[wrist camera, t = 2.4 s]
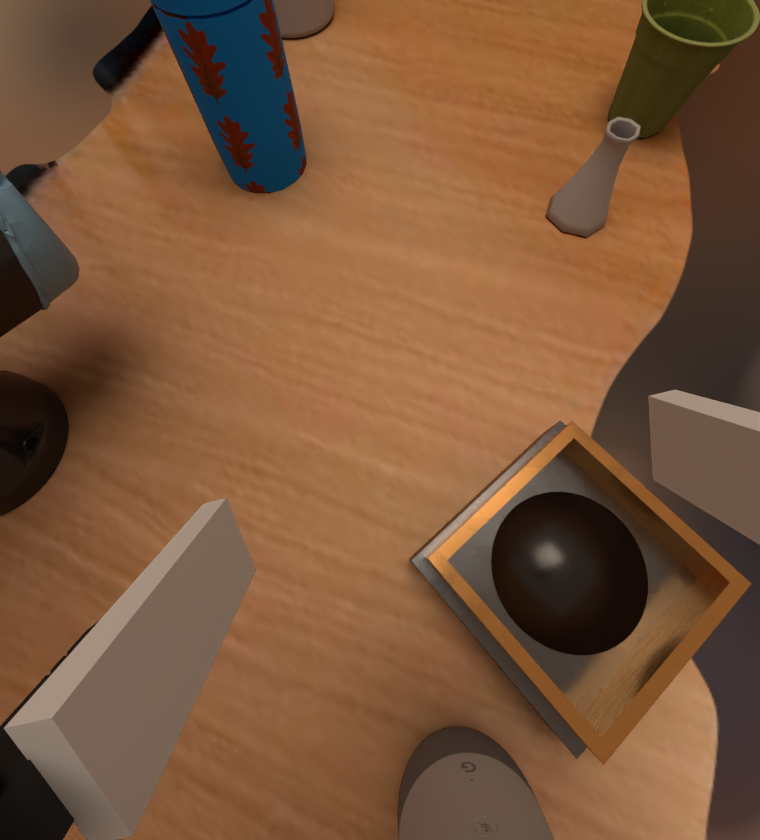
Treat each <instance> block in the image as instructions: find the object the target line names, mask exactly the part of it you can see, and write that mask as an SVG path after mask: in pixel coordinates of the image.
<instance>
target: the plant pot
mask: <svg viewBox="0 0 760 840" xmlns="http://www.w3.org/2000/svg"><path fill="white" fill-rule="evenodd" d="M759 19H760V14H759V10H758V8H757V7H756V5H755V2H754V1H753V0H642V15H641V18H640V21H639V24H638V27H637V30H636V38H635V41H634V43H633V46H632V49H631V52H630V54H629V57H628V60H627V63H626V66H625V68H624V71H623V74H622V77H621V80H620V82H619V85H618V88H617V91H616V93H615V96H614V99H613V102H612V105H611V107H610V110H609V114H608V117H609V121H611V120H613V119H615V118H616V117H623V118H628V119H632V120H633V121H634V122H636V123H637V124H638V125H640V126H641V128H640V133H639V136H638V138H646V137H649V136H651V135H653V134H655V133H658V132H659V131H660V130H661V129H662V128H663V127H664V126H665V125H666V124H667V122H668V121H669V120H670V119H671V118H672V117H673V116H674V114H675V113H676V112H677V111H678V110H679V109H680V107H681V106H682V105H683V104H684V103H685V102H686V100H687V99H688V98H689V97H690V96H691V95H692V93H693V92H694V91H695V90H696V89H697V87H698V86H699V85H700V84H701V83H702V82H703V81H704V79H705V78H706V77H707V76H708V75H709V74H710V72H711V71H712V70H713V69H714V68H715V67H716V66H717V65H718V64H719V63H720V62H722V61H723V60H724V59H725V58H726V57H727V56H728V54H729V53H730V52H731V51H732V50H733V49H734V48H735V46H736V45H737V44H738V43H740V42H742V41H744V40H745V39H747V38H748V37H749V36H751V35H752V33H753V32H754V31H755V30H756V28H757V26H758V24H759Z"/></svg>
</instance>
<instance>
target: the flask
mask: <svg viewBox="0 0 760 840" xmlns="http://www.w3.org/2000/svg"><path fill="white" fill-rule="evenodd" d="M640 128H641V126H640V125H638V124H637V123H636V122H634V121H633V120H632V119H628V118H623V117H616V118H615V119H613V120H611V121H609V122H608V124H607V127H606V131H605V135H604V138H603V140H602V142H601V143H600V145H599V146H598V148H597V149H596V150H595V152H594V153H593V155H592V156H591V157H590V159H589V160H588V161H587V162H586V163H585V164H584V165H583V166H582V167H581V168H580V169H579V170H578V172H577V173H576V174H575V175H574V176H573V177H572V178H571V179H570V180H569V181H568V182H567V183H566V184H565V185H564V186H563V187H562V188H561V189H560V190H559V191H558V192H557V193H556V194H555V195H554V196H553V197H552V198H551V199H550V203H549V207H548V210H547V214H546V217H548V218H549V219H550V220H551V221H552V222H553V223H554V224H555V225H556V226H557V227H558V228H559V229H560V230H561V231H563V232H568V233H572V234H576V235H580V236H584V237H587V236H589V235H591V234H592V233H594V232H595V231H597V230H599V229H600V228H602V227H603V226H605V222H606V218H607V213H608V208H609V204H610V199H611V194H612V190H613V186H614V182H615V178H616V174H617V171H618V169H619V166H620V164H621V161H622V159H623V156H624V154H625V152H626V151H627V149H628V147H629V146H630V144H631V143H632V142H633V141H635V140H636V139H637V138H638V136H639V133H640Z"/></svg>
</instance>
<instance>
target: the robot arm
mask: <svg viewBox="0 0 760 840" xmlns="http://www.w3.org/2000/svg"><path fill="white" fill-rule="evenodd" d="M78 276H79V266H78V263H77V260H76V258H75V257H74V256H73V254H72V253H71V252H70V251H69V249H68V248H67V247H66V246H65V245H64V243H63V242H62V241H61V240H60V239H59V238H58V236H57V235H56V234H55V233H54V232H53V231H52V229H51V228H50V227H49V226H48V225H47V224H46V222H45V221H44V220H43V219H42V218H41V217H40V216H39V214H38V213H37V212H36V211H35V210H34V209H33V207H32V206H31V205H30V204H29V203H28V202H27V201H26V199H25V198H24V197H23V196H22V195H21V194H20V193H19V191H18V190H17V189H16V188H15V187H14V186H13V185H12V184H11V182H10V181H9V180H8V179H7V178H6V177H5V175H4V174H3V173H2V172H1V171H0V337H2V336H3V335H5V334H6V333H8V332H9V331H10V330H12V329H13V328H15V327H16V326H18V325H19V324H21V323H22V322H24V321H25V320H26V319H28V318H29V317H31V316H32V315H34V314H35V313H37V312H38V311H40V310H41V309H42V310H46V309H48V307H49V306H50V302H51V301H53V300H54V299H55V298H57V297H58V296H59V295H60V294H62V293H63V292H64V291H66V290H67V289H68V288H70V287H71V286H72V285H73V284H74V283H75V282H76V281H77V279H78ZM649 414H650V432H651V450H652V469H653V479H654V480H655V481H657V482H658V483H660V484H662V485H663V486H665V487H666V488H668V489H670V490H671V491H673V492H675V493H676V494H678V495H680V496H681V497H683V498H684V499H686V500H688V501H690V502H691V503H693V504H694V505H696V506H697V507H699V508H701V509H702V510H704V511H706V512H707V513H709V514H711V515H712V516H714V517H715V518H717V519H719V520H720V521H722V522H724V523H725V524H727V525H729V526H730V527H732V528H733V529H735V530H737V531H738V532H740V533H742V534H743V535H745V536H746V537H748V538H750V539H751V540H753V541H755V542H756V543H758V544H760V412H756V411H752V410H748V409H745V408H741V407H738V406H734V405H730V404H726V403H723V402H719V401H715V400H711V399H708V398H704V397H700V396H697V395H693V394H689V393H685V392H681V391H678V390H672V391H668V392H664V393H659V394H655V395H651V396H649ZM66 438H67V416H66V412H65V409H64V407H63V404H62V402H61V401H60V399H59V398H58V396H57V395H56V394H55V393H54V392H53V391H52V390H51V389H49V388H48V387H47V386H45V385H43V384H41V383H39V382H37V381H34V380H32V379H30V378H28V377H26V376H23V375H20V374H17V373H14V372H9V371H0V515H1V514H4V513H6V512H8V511H10V510H12V509H14V508H15V507H17V506H19V505H20V504H22V503H23V502H24V501H26V500H27V499H28V498H30V497H31V496H32V495H33V494H34V493H35V492H36V491H37V490H38V489H39V488H40V487H41V486H42V485H43V484H44V483H45V482H46V480H47V479H48V478H49V476H50V475H51V474H52V472H53V471H54V469H55V467H56V466H57V464H58V462H59V460H60V458H61V455H62V453H63V450H64V447H65V443H66ZM255 571H256V568H255V566H254V564H253V561H252V559H251V556H250V554H249V552H248V549H247V547H246V544H245V542H244V539H243V537H242V535H241V532H240V530H239V527H238V525H237V522H236V520H235V518H234V515H233V513H232V510H231V508H230V506H229V503H228V501H227V498H224V499H220V500H216V501H212V502H208V503H204V504H203V505H202V506H201V507H200V508H199V509H198V510H197V511H196V513H195V514H194V515H193V516H192V517H191V518H190V519H189V520H188V522H187V523H186V524H185V525H184V526H183V527H182V528H181V529H180V531H179V532H178V533H177V534H176V535H175V536H174V537H173V538H172V540H171V541H170V542H169V543H168V544H167V545H166V546H165V547H164V549H163V550H162V551H161V552H160V553H159V554H158V555H157V556H156V558H155V559H154V560H153V561H152V562H151V563H150V564H149V565H148V567H147V568H146V569H145V570H144V571H143V572H142V573H141V574H140V576H139V577H138V578H137V579H136V580H135V581H134V582H133V583H132V584H131V586H130V587H129V588H128V589H127V590H126V591H125V592H124V593H123V595H122V596H121V597H120V598H119V599H118V600H117V601H116V602H115V604H114V605H113V606H112V607H111V608H110V609H109V610H108V611H107V613H106V614H105V615H104V616H103V617H102V618H101V619H100V620H99V621H98V622H97V623H95V624H94V625H93V626H92V627H90V628H89V629H88V630H87V631H86V632H85V633H84V634H83V635H82V636H81V637H80V638H79V640H78V641H77V642H76V643H75V644H74V645H73V646H72V647H71V648H70V650H69V651H68V652H67V656H64V657H62V658H61V660H60V661H59V662H58V663H57V664H56V665H55V666H54V667H53V668H52V670H51V674H50V675H46V676H45V677H44V678H43V679H42V681H41V682H40V683H39V684H38V685H37V686H36V687H35V688H34V689H33V691H32V692H31V693H30V694H29V695H28V696H27V697H26V698H25V699H24V701H23V702H22V703H21V704H20V705H19V706H18V707H17V708H16V709H15V711H14V712H13V713H12V714H11V715H10V716H9V717H8V718H7V719H6V721H5V722H4V723H3V724H2V725H1V726H0V840H63V838H64V837H65V835H66V833H67V832H68V830H69V828H70V827H71V825H72V823H73V822H74V823H75V825H76V826H77V827H78V829H79V830H80V831H81V833H82V834H83V835H84V837H85V838H86V839H87V840H118V839H123V838H128V837H133V836H134V834H135V831H136V829H137V827H138V825H139V823H140V821H141V818H142V816H143V814H144V812H145V810H146V808H147V805H148V803H149V801H150V799H151V797H152V795H153V792H154V790H155V788H156V786H157V784H158V782H159V779H160V777H161V775H162V773H163V771H164V769H165V766H166V764H167V762H168V760H169V758H170V755H171V753H172V751H173V749H174V747H175V745H176V742H177V740H178V738H179V736H180V734H181V732H182V729H183V727H184V725H185V723H186V721H187V719H188V716H189V714H190V712H191V710H192V708H193V706H194V703H195V701H196V699H197V697H198V695H199V693H200V690H201V688H202V686H203V684H204V682H205V680H206V677H207V675H208V673H209V671H210V669H211V667H212V664H213V662H214V660H215V658H216V656H217V653H218V651H219V649H220V647H221V645H222V643H223V640H224V638H225V636H226V634H227V632H228V630H229V627H230V625H231V623H232V621H233V619H234V617H235V614H236V612H237V610H238V608H239V606H240V604H241V601H242V599H243V597H244V595H245V593H246V591H247V588H248V586H249V584H250V582H251V580H252V578H253V575H254V573H255Z"/></svg>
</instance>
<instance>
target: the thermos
mask: <svg viewBox="0 0 760 840" xmlns="http://www.w3.org/2000/svg"><path fill="white" fill-rule="evenodd" d="M150 1H151V3H152V6H153V8H154V10H155V12H156V15H157V17H158V19H159V21H160V24H161V26H162V28H163V30H164V33H165V35H166V37H167V39H168V41H169V44H170V46H171V48H172V50H173V53H174V55H175V57H176V59H177V62H178V64H179V66H180V68H181V71H182V73H183V75H184V77H185V79H186V82H187V84H188V86H189V88H190V91H191V93H192V95H193V97H194V100H195V102H196V104H197V106H198V109H199V111H200V113H201V115H202V118H203V120H204V122H205V124H206V126H207V129H208V131H209V133H210V135H211V138H212V140H213V142H214V144H215V146H216V148H217V150H218V152H219V154H220V156H221V158H222V160H223V162H224V164H225V166H226V168H227V170H228V172H229V174H230V176H231V178H232V179H233V181H234V183H236V184H237V185H238V186H240V187H241V188H242V189H244V190H247V191H251V192H254V193H271V192H274V191H278V190H282V189H284V188H286V187H288V186H289V185H291V184H293V183H294V182H295V181H296V180H297V179H298V178H299V177H300V176H301V175H302V174H303V171H304V168H305V166H306V155H305V148H304V142H303V137H302V131H301V125H300V120H299V115H298V111H297V106H296V101H295V97H294V92H293V88H292V83H291V79H290V74H289V70H288V65H287V61H286V56H285V52H284V47H283V42H282V38H281V33H280V29H279V24H278V20H277V15H276V11H275V6H274V2H273V0H150Z"/></svg>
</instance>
